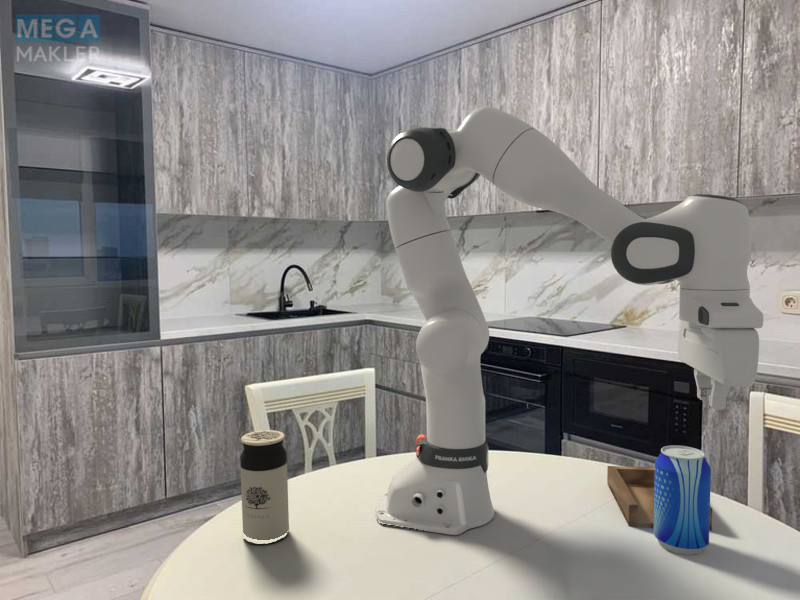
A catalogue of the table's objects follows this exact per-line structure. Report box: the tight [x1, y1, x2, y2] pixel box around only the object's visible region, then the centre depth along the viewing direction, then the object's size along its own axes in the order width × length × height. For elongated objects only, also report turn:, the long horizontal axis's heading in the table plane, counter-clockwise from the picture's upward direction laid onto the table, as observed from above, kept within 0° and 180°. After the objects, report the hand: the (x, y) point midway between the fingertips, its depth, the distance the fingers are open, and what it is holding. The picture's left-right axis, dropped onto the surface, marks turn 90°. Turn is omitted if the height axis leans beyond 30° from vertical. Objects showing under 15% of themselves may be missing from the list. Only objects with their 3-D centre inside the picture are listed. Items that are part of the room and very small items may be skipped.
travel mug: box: [239, 429, 290, 540], centre depth 104 cm, size 8×8×18 cm
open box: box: [606, 465, 713, 531], centre depth 115 cm, size 14×20×4 cm
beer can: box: [653, 445, 712, 556], centre depth 99 cm, size 8×8×16 cm
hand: (710, 404), depth 86 cm, fingers open, 3 cm apart
